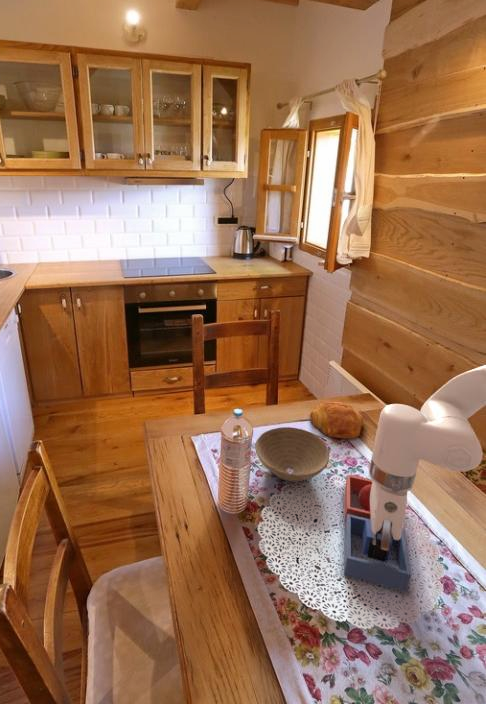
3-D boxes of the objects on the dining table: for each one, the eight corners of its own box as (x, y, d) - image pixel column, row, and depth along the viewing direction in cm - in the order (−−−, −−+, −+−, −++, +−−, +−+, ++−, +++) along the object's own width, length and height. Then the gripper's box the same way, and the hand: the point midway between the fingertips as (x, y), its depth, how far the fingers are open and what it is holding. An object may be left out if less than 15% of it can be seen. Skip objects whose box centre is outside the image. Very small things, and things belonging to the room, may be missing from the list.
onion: (387, 523, 89) (394, 494, 86) (361, 522, 89) (367, 493, 86) (378, 502, 94) (384, 474, 91) (353, 501, 94) (358, 473, 91)
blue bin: (398, 546, 84) (403, 527, 82) (405, 595, 74) (411, 575, 72) (343, 532, 87) (347, 513, 85) (343, 577, 77) (347, 557, 75)
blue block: (386, 541, 81) (390, 524, 79) (388, 560, 76) (392, 542, 75) (362, 535, 82) (365, 518, 80) (363, 554, 78) (366, 536, 76)
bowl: (238, 473, 103) (239, 446, 100) (279, 441, 116) (282, 417, 113) (301, 513, 91) (304, 485, 88) (339, 473, 104) (344, 447, 101)
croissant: (309, 417, 131) (308, 395, 129) (359, 417, 129) (359, 394, 126) (313, 444, 118) (312, 420, 115) (369, 444, 115) (369, 419, 113)
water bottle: (232, 490, 97) (237, 398, 89) (253, 506, 93) (261, 411, 84) (211, 504, 93) (214, 410, 84) (233, 522, 88) (239, 424, 80)
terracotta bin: (392, 502, 95) (396, 485, 93) (398, 540, 85) (402, 521, 84) (344, 491, 98) (347, 474, 96) (343, 526, 88) (347, 508, 86)
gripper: (422, 511, 64) (401, 593, 70) (408, 447, 80) (391, 519, 86) (372, 499, 66) (355, 580, 72) (367, 439, 81) (354, 510, 88)
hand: (375, 546), depth 79 cm, fingers closed on blue block, 4 cm apart
